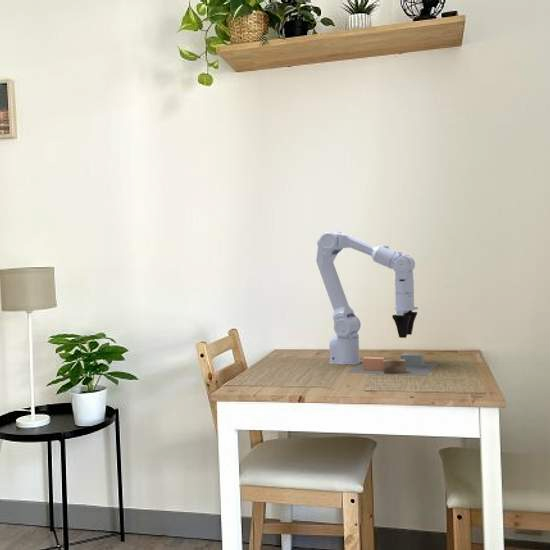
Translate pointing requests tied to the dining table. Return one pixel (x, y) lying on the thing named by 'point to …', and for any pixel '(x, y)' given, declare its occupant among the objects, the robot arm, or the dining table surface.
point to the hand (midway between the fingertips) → (405, 336)
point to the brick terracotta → (373, 363)
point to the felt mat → (409, 371)
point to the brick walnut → (394, 366)
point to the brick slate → (413, 360)
